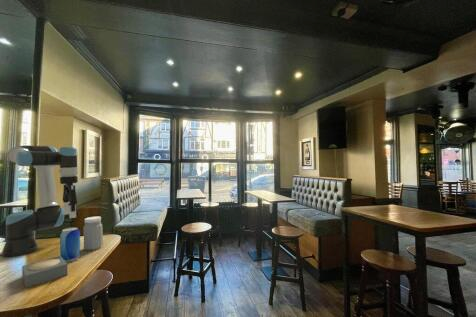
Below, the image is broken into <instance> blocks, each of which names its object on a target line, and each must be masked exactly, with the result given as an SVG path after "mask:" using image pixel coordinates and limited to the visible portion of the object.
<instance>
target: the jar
mask: <svg viewBox="0 0 476 317" xmlns="http://www.w3.org/2000/svg"><path fill="white" fill-rule="evenodd" d="M101 220H102V217H101V216H98V215H97V216H90V217H86V218H84V225H83V227H82V229H83V249H84V250H85V251H87V250H88V251H90V250H91V251H96V250H99V249H101V248H103V247H102V246H103V245H104V237H103V236H104V234H103V230H104V228H103V224H102V221H101ZM88 251H87V252H88Z"/></svg>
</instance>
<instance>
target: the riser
mask: <svg viewBox="0 0 476 317" xmlns="http://www.w3.org/2000/svg"><path fill="white" fill-rule="evenodd" d="M21 267H22V269H21V272H22V281H23V284H24V287H25V289H27V288H30V287H34V286H36V285H41V284H43V283H47V282H50V281H53V280H55V279H60V278H62V277H65V276H68V262H65V260H64V259H63V258H62V257H61V256H60V255H59V256H56V257H52V258H48V259H45V260H40V261H35V262H32V263H29V264H26V265H25V264H24V265H22V266H21Z"/></svg>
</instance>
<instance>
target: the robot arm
mask: <svg viewBox="0 0 476 317" xmlns="http://www.w3.org/2000/svg"><path fill="white" fill-rule="evenodd" d="M7 158H8V160H9V161H11V162H12V163H15V164H16V165H17V166H18V167H33V168H34V169H35V170H36V178H37V179H36V180H37V188H38V189H37V190H38V203H39V205H38V207H37V208H36V211H34V210H33V209H27V210H26V209H25V210H21V211H16V212H13V213H10V214H8V215H7V216H6V218H5V239H6V240H5V243H4V246H3V248H2V250H1V257H3V258H11V257H18V256H23V255H26V254H30V253H33V252H35V251H37V250H38V249H39V246H38V242H37V240H36V238H35V237H34V236H35V235H34V232H37V231H41V230H42V231H43V230H48V229H53V228H56V227H60V226H61V225H63V223H64V220H65V215H69V216H68V217H69V219H73V218H74V219H75V218H77V204H78V200H77V192H76V185H74V184H77V183H78V182H79V181H78V172H79V171H78V170H79V169H78V149H77V147H74V146H61V147H59V150H57V148H56V147H55V146H53V145H52V146H50V145H19V146H15V147H11V148H10V149H9V150H8V152H7ZM56 166H59V170H58V173H59V175H60V177H59V183H60V185H63V189H62V190H63V193H62V202H63V207H61V204H59V203H57V202H58V200H57V192H56V191H57V190H56V182H55V181H56V180H55V170H54V168H55V167H56Z"/></svg>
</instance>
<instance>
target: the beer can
mask: <svg viewBox="0 0 476 317" xmlns="http://www.w3.org/2000/svg"><path fill="white" fill-rule="evenodd" d="M59 235H60V236H59V244H60V245H59V246H60V247H59V248H60V249H59V250H60V253H59V254H60V255H59V256H61V257H62V258H63V259H64V260H65V262H66V263H71V262H73V261H77V260H78V259H79V257H80V256H81V236H80V235H81V232H80V230H79V229H78V227H75V226H74V227H68V228H64V229H62V231H61V233H60V234H59Z"/></svg>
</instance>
